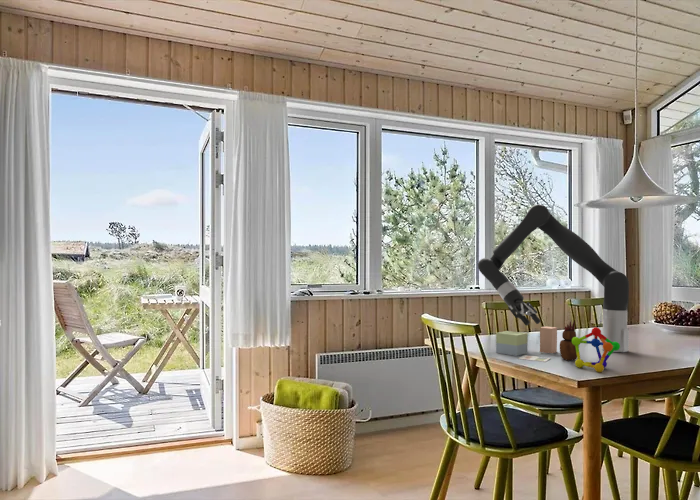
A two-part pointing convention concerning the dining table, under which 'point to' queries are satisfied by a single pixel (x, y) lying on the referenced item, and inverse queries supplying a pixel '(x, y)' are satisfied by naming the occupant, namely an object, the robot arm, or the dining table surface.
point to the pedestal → (511, 343)
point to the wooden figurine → (568, 343)
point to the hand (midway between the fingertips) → (533, 323)
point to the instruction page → (534, 358)
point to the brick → (548, 339)
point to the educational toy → (596, 342)
